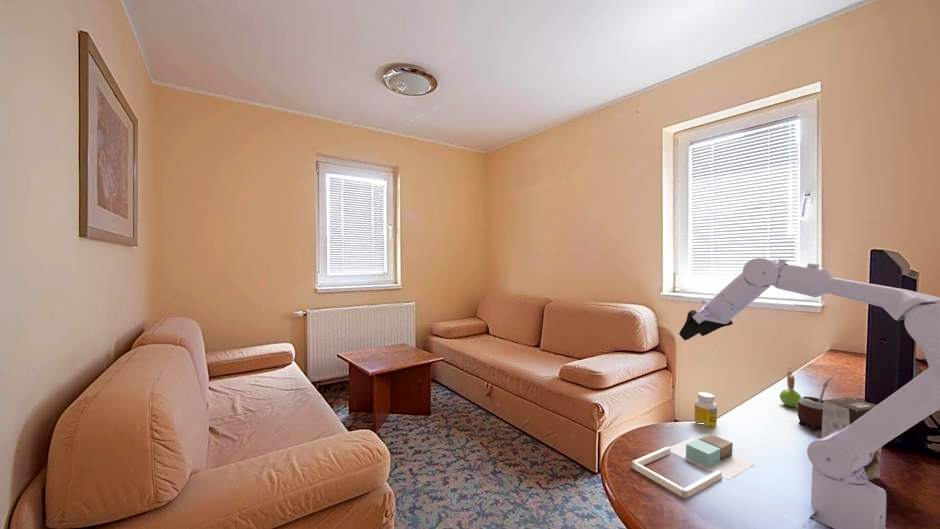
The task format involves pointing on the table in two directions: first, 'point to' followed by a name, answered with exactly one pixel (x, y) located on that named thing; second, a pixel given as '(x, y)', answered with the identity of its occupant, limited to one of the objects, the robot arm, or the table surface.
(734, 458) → the beige board
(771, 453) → the table surface
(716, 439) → the brown square block
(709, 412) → the supplement bottle
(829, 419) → the coffee box
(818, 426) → the mate gourd
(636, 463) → the box
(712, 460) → the mint green block
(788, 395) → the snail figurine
